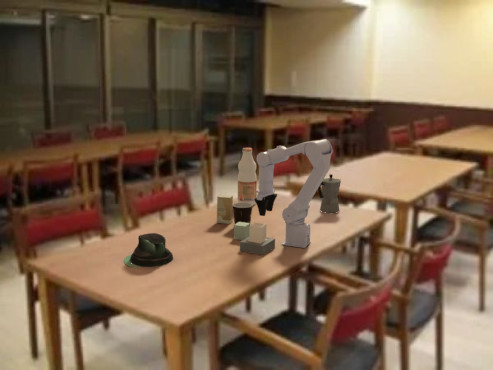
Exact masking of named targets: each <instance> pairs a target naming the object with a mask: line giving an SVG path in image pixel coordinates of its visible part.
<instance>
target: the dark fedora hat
mask: <svg viewBox="0 0 493 370" xmlns="http://www.w3.org/2000/svg"><path fill="white" fill-rule="evenodd" d="M166 243H167V240H166V237H165V236H163V234H161V233H156V232H155V233H154V232H150V233H144V234H140V235H138V243H137V246H136V247H135V248H134V250H133V252H132V254H128V255H127V256H126V257H124V259H123V263H124V265H126V266H128V267H130V268H132V269H136V268H139V267H142V268H155V267H156V268H157V269H160V266H161V267H162V266H164V265H167V264H169V263H171V262H172V261H173V260H174V256H173V253H172V252H171V251H170V250H169V248H167V247H166ZM131 263H132V264H133V265H132V264H131Z"/></svg>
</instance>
